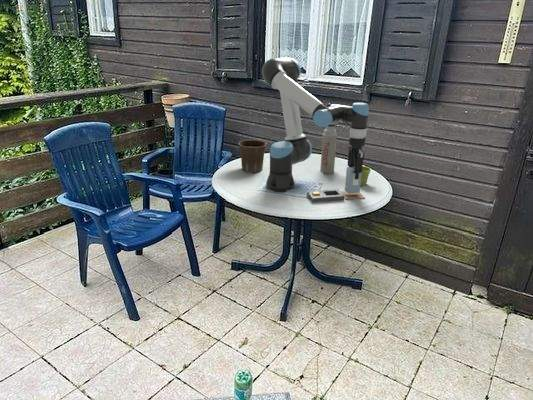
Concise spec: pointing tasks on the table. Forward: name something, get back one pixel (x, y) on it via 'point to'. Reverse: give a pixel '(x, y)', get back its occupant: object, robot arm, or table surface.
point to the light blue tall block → (349, 179)
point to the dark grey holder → (325, 195)
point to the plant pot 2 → (365, 175)
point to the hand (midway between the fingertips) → (352, 183)
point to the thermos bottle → (328, 149)
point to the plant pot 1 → (252, 155)
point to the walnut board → (352, 195)
